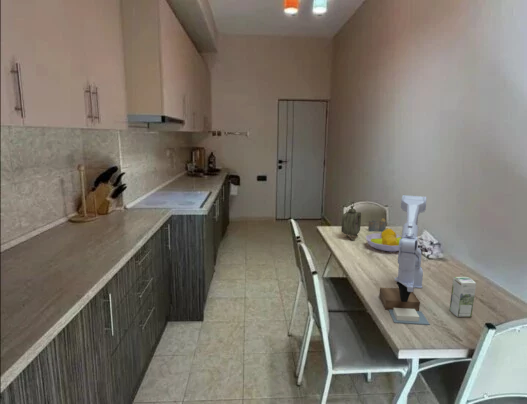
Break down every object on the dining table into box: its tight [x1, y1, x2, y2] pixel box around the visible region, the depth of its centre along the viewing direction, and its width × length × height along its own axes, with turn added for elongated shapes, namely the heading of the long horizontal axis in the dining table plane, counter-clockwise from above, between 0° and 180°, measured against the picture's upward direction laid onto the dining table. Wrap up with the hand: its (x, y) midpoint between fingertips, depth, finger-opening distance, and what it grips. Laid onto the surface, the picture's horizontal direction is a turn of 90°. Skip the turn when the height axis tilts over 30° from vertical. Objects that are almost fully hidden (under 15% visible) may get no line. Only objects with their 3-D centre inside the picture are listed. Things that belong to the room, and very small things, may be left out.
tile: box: [393, 308, 419, 322], centre depth 134 cm, size 8×6×2 cm
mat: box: [388, 310, 430, 326], centre depth 135 cm, size 12×10×1 cm
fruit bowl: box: [365, 227, 402, 253], centre depth 213 cm, size 28×27×11 cm
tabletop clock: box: [340, 201, 362, 242], centre depth 233 cm, size 14×9×25 cm, turn 150°
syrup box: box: [449, 276, 477, 318], centre depth 136 cm, size 6×6×14 cm
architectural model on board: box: [367, 217, 387, 232], centre depth 252 cm, size 11×3×10 cm, turn 87°
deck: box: [378, 287, 421, 311], centre depth 146 cm, size 13×12×4 cm
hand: (403, 301), depth 138 cm, fingers closed
